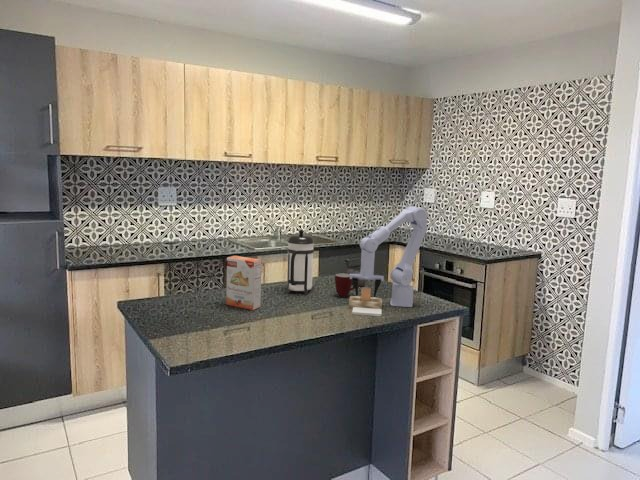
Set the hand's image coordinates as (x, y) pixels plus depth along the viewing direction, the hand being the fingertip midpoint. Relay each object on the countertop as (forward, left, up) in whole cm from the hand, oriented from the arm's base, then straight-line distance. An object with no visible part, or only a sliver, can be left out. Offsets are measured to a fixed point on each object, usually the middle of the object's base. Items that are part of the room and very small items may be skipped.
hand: (365, 295), depth 206 cm
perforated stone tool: (+6, -39, -5) cm, 40 cm away
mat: (-1, +9, -5) cm, 11 cm away
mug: (+10, -15, -5) cm, 19 cm away
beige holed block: (0, 0, -5) cm, 5 cm away
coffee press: (+32, -16, -5) cm, 36 cm away
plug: (0, 0, -5) cm, 5 cm away
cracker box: (+51, +13, -5) cm, 53 cm away
